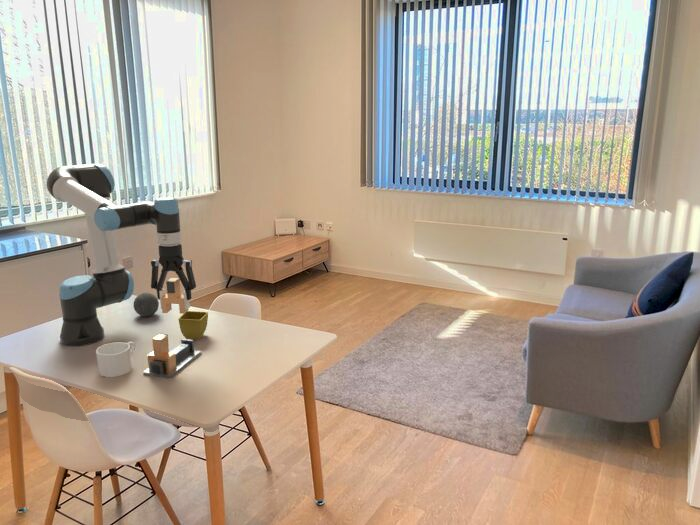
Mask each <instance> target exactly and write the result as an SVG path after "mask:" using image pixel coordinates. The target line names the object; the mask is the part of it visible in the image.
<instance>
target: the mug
mask: <svg viewBox="0 0 700 525" xmlns="http://www.w3.org/2000/svg"><path fill="white" fill-rule="evenodd" d="M135 349H136V345H135V343H134V342H133V341H128V342H121V341H119V342H118V341H115V342H109V343H105V344H102V345H100V346H98V347H97V348H96V350H95V355H96V360H97V366H98V371H99V375H100V376H102V377H104V376H105V377H104V378H117V377H121V376H124V375H127V374H128V373H129V372H130V371H131V370H132V361H131V360H132V359H131V357H132V356H133V354H134V352H135ZM116 376H117V377H116Z"/></svg>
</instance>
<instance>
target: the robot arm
mask: <svg viewBox="0 0 700 525" xmlns="http://www.w3.org/2000/svg"><path fill="white" fill-rule="evenodd" d="M115 186H116V185H115V179H114V176H113V174H112V172H111V170H110V169H109V168H108V167H107V166H106V165H104V164H101V163H88V164H87V163H86V164H75V165H74V164H73V165H72V164H71V165H62V166H59V167H56V168H55V169H53V170H52V171H51V172H50V173H49V174H48V176H47V179H46V189H47V192H48V193H49V194H50V195H51V197H53V198H54V199H55V200H57V201H59V202H61V203H68V204H70V205H71V206H73V207H74V208H76V209H78V210H80V211H81V212H83V213H84V216H85V222H86V226H87V231H88V236H89V241H90V245H91V246H90V247H91V251H92V255H93V260H94V264H95V265H94V266H95V268H94V269H93V271H92V276H91V275H89V274H85V275H84V274H82V275H75V276H72V277H69V278H67V279H65V280H63V281H62V282H61V283H60V284H59V288H58V290H59V291H58V292H59V300H60V308H61V315H62V325H61V330H60V334H59V339H60V340H59V341H60V343H61V345H65V346H69V347H70V346H71V347H75V346H76V347H77V346H79V347H80V346H86V345H90V344H95V343H96V342H99V341H101V340H102V339H103V338H104V337H105V330H104V327H103V326H102V325H101V322H100V320H99V317H98V311H97V309H99V308H103V307H106V306H110V305H114V304H117V303H119V304H121V303H122V302H124V301H126V300H129V299H130V298H131V297H132V295H133V293H134V291H135V281H134V278H133V276H132V274H131V272H130V271H129V270H126V269H125V266H124V265H122V264H121V263H120V260H119V255H118V254H119V253H118V250H117V244H116V238H115V235H114V231H116V230H121V229H126V228H131V227H138V226H146V225H155V226H156V236H157V244H158V255H159V257H158V258H159V259H153V260H151V261H150V265H151V280H150V288H151V289H152V290H153V289H154V290H156V293H157V294H156V295H157V296H156V298H157V299H158V300H160V303H159V304H160V309H161V310H162V303H161V297H163V296H164V295H166V288H164V283H165V281H166V278H167V275H168V272H175V274H176V275H177V276H178V277H177V278H179V279H180V284H181V285H182V286H183V288H184V291H183V292H182V295H184V307H185V310H187V309H188V308H189V309H190V308H191V305H190V304H191V303H190V300H191V299H192V291H193V290H194V289H196V288H197V285H196V284H197V283H196V279H195V276H194V271H193V266H192V265H193V261H192V260H191V259H190V260H186V259H184V257H183V246H182V244H181V243H182V234H181V221H180V220H181V219H180V208H179V202H178V199H177V198H175V197H172V196H170V197H168V196H165V197H158V198H155V199H154V200H153V201H149V200H139V201H137V202H135V203H128V204H120V205H118V204H115V203H113V202H112V201H110V199H111V194H112V193H113V192H114V191H115ZM159 266H161V267H162V268H161V271H160V275H159V268H160V267H159ZM183 266H184V267H185V272H184V269H183ZM185 273H186V274H185Z"/></svg>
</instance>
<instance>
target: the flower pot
mask: <svg viewBox="0 0 700 525" xmlns="http://www.w3.org/2000/svg"><path fill="white" fill-rule="evenodd" d="M208 317H209V312H208V311H196V310H195V311H194V310H188V311H187V312H186V313H184V314H181V316H179V317H178V325H179V329H180V332H181V334H182V336H183V338H184V339H190V340H200V339H201V338H202V337H203V335H204V334H205V331H206V330H207V326H208V319H209V318H208Z"/></svg>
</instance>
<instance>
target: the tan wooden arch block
mask: <svg viewBox="0 0 700 525" xmlns="http://www.w3.org/2000/svg"><path fill="white" fill-rule="evenodd" d="M165 281H166V283H165V284H166V293H165V295H164V296H163V297H161V303H162V309H161V313H162V314H168V313H169V312H170V311H171V310H173V309H172V305H173V304H174V305H175V304H177V305H178V309H179V314H180V315H183V314H184V313H186V312H187V311H190V310H189V309H190V308H188V309H187V310H185V307H184V295H183V294H182V291H181V281H180V279H179V277H170V278H169V279H166V280H165Z"/></svg>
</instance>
